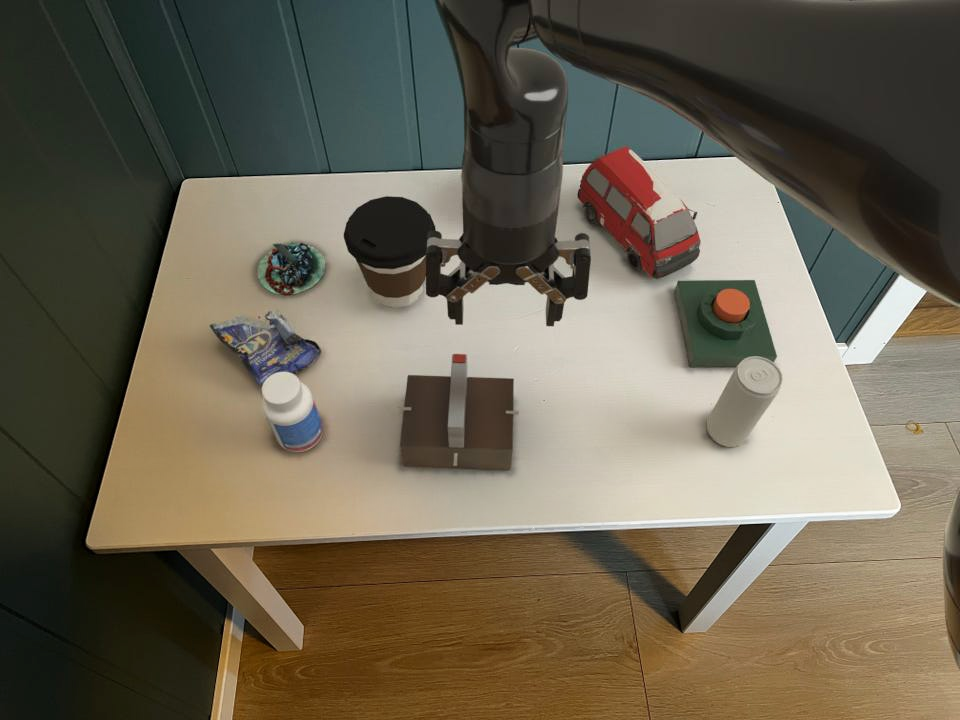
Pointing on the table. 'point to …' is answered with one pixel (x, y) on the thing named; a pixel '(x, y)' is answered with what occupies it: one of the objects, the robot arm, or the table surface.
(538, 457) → the table surface
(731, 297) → the button
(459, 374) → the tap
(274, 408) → the pill bottle
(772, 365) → the beverage can
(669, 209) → the toy car
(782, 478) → the table surface
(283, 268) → the dish
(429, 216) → the coffee cup
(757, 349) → the green button base
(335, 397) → the table surface
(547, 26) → the robot arm
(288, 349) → the snack package
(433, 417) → the base
